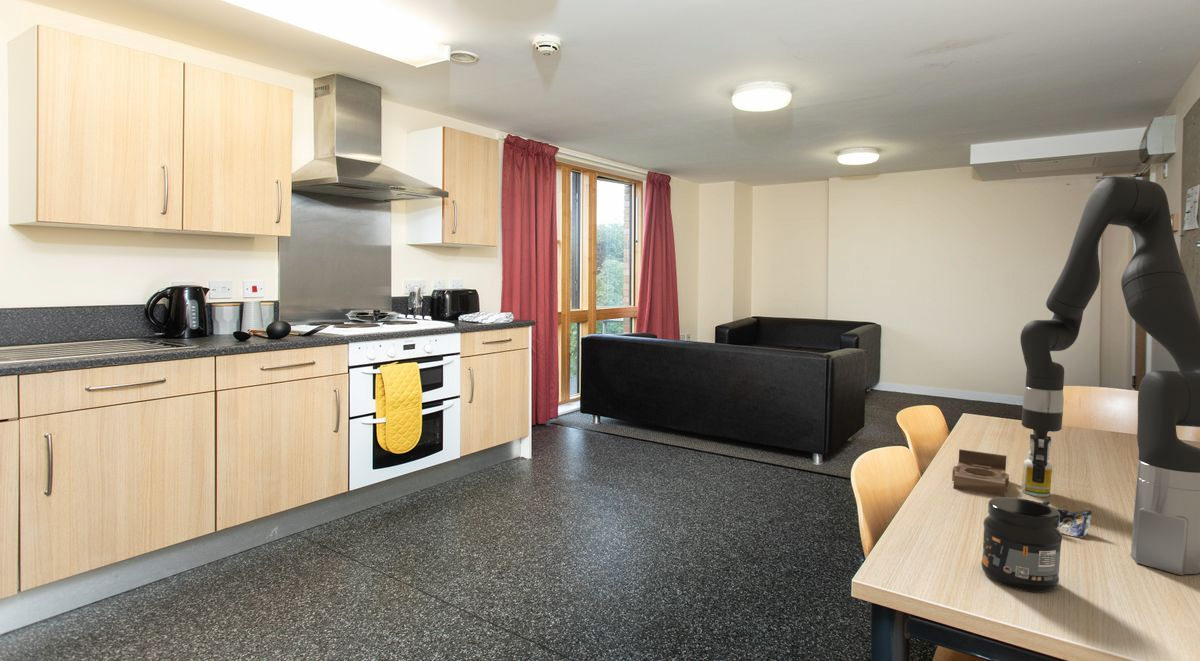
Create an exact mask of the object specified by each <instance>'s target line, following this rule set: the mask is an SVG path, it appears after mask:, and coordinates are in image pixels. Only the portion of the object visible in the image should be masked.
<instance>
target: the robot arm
mask: <svg viewBox="0 0 1200 661" xmlns="http://www.w3.org/2000/svg"><path fill="white" fill-rule="evenodd" d="M1170 211H1171V210H1170V206H1169V201H1168V196H1167V194H1166V191H1165V189H1164V188H1163V187H1162V186H1161V184H1159V183H1158V182H1155V181H1153V180H1146V179H1138V178H1133V177H1127V176H1126V177H1124V176H1112V175H1111V176H1108V177H1105V178H1103V179H1102V180H1100V181H1099V182H1098V183H1097V184H1096V185H1095V186H1094V188H1093V190H1091V193H1090V194H1089V197H1088V199H1087V201H1086V203H1085V205H1084V209H1083V211H1082V213H1081V217H1080V221H1079V222H1078V226H1077V229H1076V232H1075V235H1074V239H1073V240H1072V245H1071V247H1070V251H1069V254H1068V257H1067V260H1066V262H1065V264H1064V266H1063V268H1062V270H1061V273H1060V275H1059V276H1058V278H1057V280H1056V282H1055V284H1054V285H1053V287H1052V289H1051V291H1050V292H1049V294H1048V297H1047V300H1046V302H1045V306H1046V308H1047V309H1048V310H1049V311H1050V312H1052V313H1053V316H1052V318H1051V319H1040V320H1039V319H1035V320H1031V321H1029V322H1027V323H1026V324H1025V325H1024V326H1023V328H1022V330H1021V334H1020V346H1021V352H1022V354H1023V355H1022V356H1023V360H1024V364H1025V366H1026V372H1025V374H1026V375H1025V387H1024V391H1023V396H1022V410H1021V413H1022V414H1021V426H1022V427H1023V428H1025V429H1027V430H1028V429H1029V430H1032V431H1033V433H1030V434H1029V445H1030V446H1029V447H1030V448H1029V450H1031V454H1030V455H1031V456H1032V457H1033V461H1032V464H1033V473H1032V481H1033V482H1036V483H1044V477H1045V467H1046V466H1047V462H1048V461H1047V458H1049V459H1050V449H1051V447H1052V446H1051V445H1052V437H1051V436H1048V433H1049V432H1053V433H1055V432H1060V431H1061V430H1062V427H1063V417H1064V416H1063V415H1064V414H1063V413H1064V402H1065V401H1064V400H1065V398H1064V383H1065V367H1064V366H1063V365H1062V364H1061V363H1060V362H1059V363H1058V362H1055V361H1053V359H1052V355H1051V352H1063V351H1066V350H1067V349H1069V348H1070V347H1071V346H1072V345H1074V344H1075V343H1076V341H1077V339H1078V336H1079V334H1080V330H1081V325H1082V322H1083V315H1084V311H1085V309H1086V308H1087V306H1088V305H1089V303H1090V301H1091V299H1092V298H1093V296H1094V294H1095V292H1096V291H1097V288H1098V287H1099V284H1100V279H1101V266H1100V260H1099V259H1100V258H1099V247H1100V246H1099V245H1100V242H1101V241H1100V240H1101V238H1102V236H1103V233H1104V232H1105V231H1106V229H1107V227H1108V226H1109V225H1111V226H1119V227H1126V228H1128V229H1129V230H1130V231H1131V233H1132V236H1133V238H1134V242H1135V244H1134V245H1135V252H1134V254H1133V256H1132V257H1131V259H1130V260H1129V262H1128V264H1127V265H1126V267H1125V270H1124V272H1123V274H1122V276H1121V280H1120V281H1121V283H1120V284H1121V291H1122V293H1123V294H1122V295H1123V299H1124V302H1125V305H1126V309H1127V312H1128V314H1129V316H1130V317H1131V318H1132V319H1133V320H1134V322H1135V324H1137V326H1139V327H1140V328H1141V329H1142V330H1143V331H1144V332H1146V333H1147V334H1148V335H1149V336H1150V337H1152V338H1153V339H1154V340H1155V341H1156V342H1157V343H1158V344H1160V345H1161V346H1162V347H1163V348H1164V349H1166V351H1167V352H1168V354H1170V355H1171V357H1172V358H1173V360H1174V362H1175V364H1176V366H1177V367H1178V370H1152V371H1151V370H1150V371H1149V372H1147V373H1146V374H1145V375H1144V376H1143V377H1142V379H1141V381H1140V384H1139V387H1138V394H1137V426H1136V429H1137V431H1136V432H1137V433H1136V440H1137V442H1136V443H1137V447H1138V460H1137V473H1136V481H1135V482H1136V483H1135V494H1134V495H1135V496H1134V507H1133V508H1134V509H1133V518H1132V519H1133V522H1132V535H1131V547H1130V556H1131V557H1132V558H1133V559H1134V562H1135V563H1137V564H1139V565H1144V566H1147V567H1151V568H1154V569H1157V570H1161V571H1165V572H1168V573H1171V574H1174V575H1179V576H1183V575H1197V574H1200V447H1197V446H1195V445H1192V444H1189V443H1185V442H1184V441H1183V440H1181V439H1180V438H1179V437H1178V434H1177V426H1178V427H1192V428H1200V315H1199V312H1198V310H1197V306H1196V303H1195V298H1194V295H1193V292H1192V288H1191V285H1190V282H1189V279H1188V277H1187V274H1186V272H1185V269H1184V267H1183V263H1182V261H1181V256H1180V253H1179V250H1178V245H1177V243H1176V239H1175V236H1174V229H1173V224H1172V218H1171V212H1170ZM1036 457H1041V458H1043V459H1044V460H1037V459H1036Z"/></svg>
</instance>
